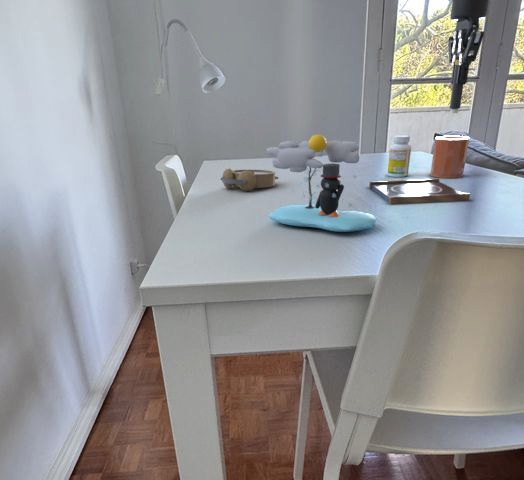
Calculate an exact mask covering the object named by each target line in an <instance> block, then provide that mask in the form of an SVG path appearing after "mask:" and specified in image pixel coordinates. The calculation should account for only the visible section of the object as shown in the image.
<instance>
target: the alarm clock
mask: <svg viewBox="0 0 524 480" xmlns="http://www.w3.org/2000/svg"><path fill="white" fill-rule="evenodd" d="M220 180H221V181H222V184H223V185H224V186H225V188H226V189H228V190H231V189H233V187H239V189H240V190H242V191H244V192H250V191H253V190H254V189H257V188H271V187H275V186H276V180H279V176H276V171H273V170H267V169H234V170H232V168H226V169H225V170H224V171H223V172H222V176H221V177H220Z"/></svg>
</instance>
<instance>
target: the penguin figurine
mask: <svg viewBox="0 0 524 480" xmlns="http://www.w3.org/2000/svg"><path fill="white" fill-rule="evenodd" d="M359 150H360V147H359V144H358V143H357V142H356V141H351V140H342V139H334V140H330V141H327V139H326V137H325V136H324V135H322V134H314V135H312V136H309V140H305V141H301V142H300V143H298V142H297V141H294V140H286V141H282V142H279V146H271V147H267V148H266V152H267V154H268V155H269V156H272V157H273V159H272V161H271V162H272V166H273V167H274V168H275V169H280V170H281V169H282V170H286V169H287V170H288V169H289V171H290V172H292V173H303V172H304V174H305V175H307V174H308V177H307V176H305V177H303V179H304V182H302V183H301V182H300V184H301V187H303V188H305V187H306V185H305V183H308V191H307V193H308V194H309V195H308V204H293V205H284V206H281V207H278V208H276V209H275V210H273V211H272V212H271V213H270V214H269V215H268V217H269V218H270V220H272V221H274V222H277V223H279V224H282V225H287V226H294V227H302V228H303V227H304V228H316V229H321V230H325V231H329V232H335V233H336V232H337V233H350V232H356V231H363V230H367V229H370V228H372V227H374V226H375V224H376V223H377V218H376V217H375V215H373V214H371V213H368V212H364V211H358V210H357V211H356V210H340V211H339V210H338V208H339V201H340V202H341V203H343V202H344V198H341V197H342V194H343V191H344V189H345V185H344V183H343V184H342V179H340V178H341V177H342V175H341V174H340V168H341V167H340V164H341V163H342V162H343V163H346V164H357V163H358V162H359V161H360V154H359V153H358V152H356V151H359ZM324 152H325V153H326V154H327V158H328V161H329V162H330V163H322V162H321V161H320V160H318V159H316V157H323V156H324ZM339 163H340V164H339ZM308 168H309V169H308ZM321 168H322V174H321V175H320V178H322V179H321V181H320V184H319V183H318V182H317V183H316V184H315V188H316V189H317V190H318V188H321V190H320V191H319V193H318V194H319V195H318V197H317V196H316V191H314V193H313V194H312V185H311V180H312V177H315V176H316V175H318V174H317V171H319V172H321V171H320V170H319V169H321ZM312 169H313V170H312ZM316 169H317V170H316ZM353 179H355V180H357V179H358V175H353ZM295 191H296V190H295V189H294V187H292V188H290V192H291V194H295V193H296V192H295ZM304 193H305V192H303V193H301V194H300V195H301V198H302V199H305V198H306V194H304ZM312 202H313V203H314V204H313V203H312ZM347 206H349V207H352V206H353V203H351V202H348V205H347Z"/></svg>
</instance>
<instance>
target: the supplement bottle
mask: <svg viewBox="0 0 524 480" xmlns="http://www.w3.org/2000/svg"><path fill="white" fill-rule="evenodd" d="M410 137H411V136H410V135H407V134H405V135H404V134H399V135H394V136H393V138H392V139H393V140H392V143H393V144H391V145H390V146H389V153H388V164H387V176H389V177H392V178H393V177H394V178H404V177H407V176H408V175H409V168H410V159H411V155H412V153H411V151H412V146H411V145H410V144H409V143H410V140H411V139H410Z"/></svg>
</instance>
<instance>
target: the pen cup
mask: <svg viewBox="0 0 524 480" xmlns="http://www.w3.org/2000/svg"><path fill="white" fill-rule="evenodd" d="M469 142H470V137H469V136H463V135H462V136H460V135H443V136H436V137H435V139H434V145H433V151H432V160H431V167H430V176H431V177H433V178H437V179H457V178H462V177H464V173H465V172H464V171H465V166H466V160H467V156H468V155H467V154H468V149H469Z"/></svg>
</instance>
